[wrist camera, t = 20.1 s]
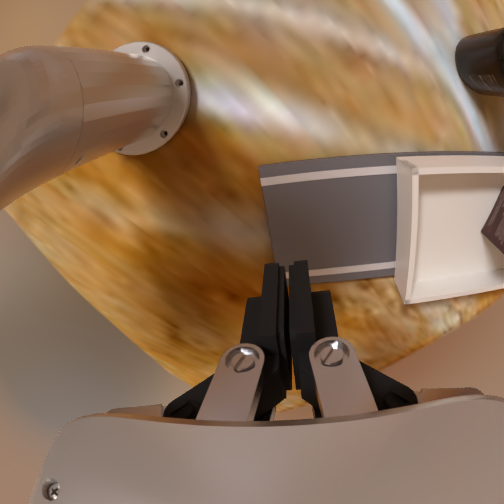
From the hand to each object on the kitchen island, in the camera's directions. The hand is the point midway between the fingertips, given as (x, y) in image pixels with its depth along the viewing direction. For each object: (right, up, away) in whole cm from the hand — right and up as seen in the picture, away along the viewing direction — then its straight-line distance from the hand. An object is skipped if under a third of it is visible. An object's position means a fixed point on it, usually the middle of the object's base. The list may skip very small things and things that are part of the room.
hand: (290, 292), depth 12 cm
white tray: (+23, +6, +16) cm, 29 cm away
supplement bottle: (+22, +22, +9) cm, 32 cm away
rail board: (+17, +6, +18) cm, 25 cm away
